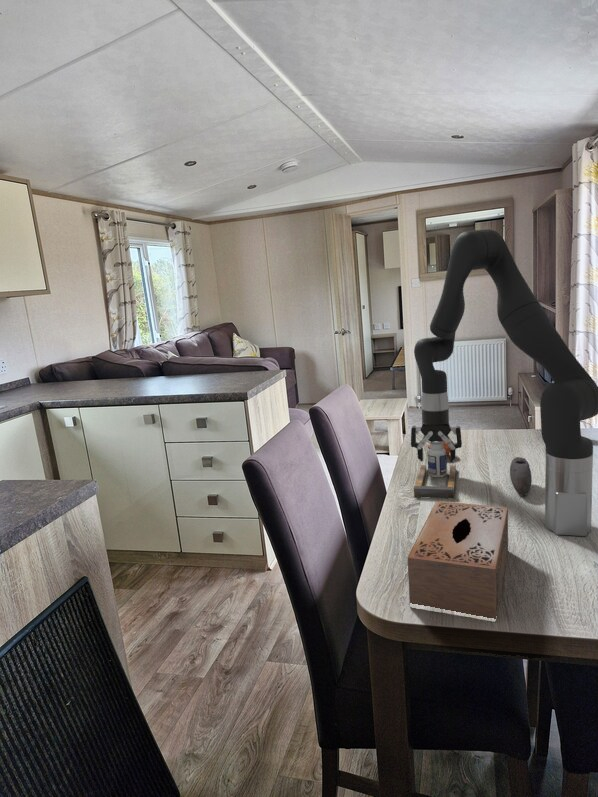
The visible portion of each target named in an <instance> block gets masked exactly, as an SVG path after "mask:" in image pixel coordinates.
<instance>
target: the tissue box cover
mask: <svg viewBox="0 0 598 797" xmlns="http://www.w3.org/2000/svg"><path fill="white" fill-rule="evenodd" d="M508 555H509V507H507V506H500V505H499V506H497V505H488V504H487V505H485V504H473V503H463V502H453V501H452V502H451V501H440V500H436V501H435V503H434V505H433V507H432V508H431V510H430V512H429V514H428V516H427V519H426V521H425V522H424V525H423V526H422V529H421V530H420V533H419V534H418V536H417V538H416V539H415V542H414V544H413V546H412V548H411V550H410V552H409V554H408V556H407V577H408V592H409V594H408V595H409V596H408V597H409V598H408V599H409V604H410V603H412V604H418V605H424V606H430V607H435V608H440V609H445V610H451V611H456V612H461V613H466V614H471V615H476V616H483V617H487V618H494V619H496V616H497V617H498V614H497V611H498V612H499V609H498V606H500V603H499V600H500V601H501V597H500V595H502V591H501V589H503V585H502V584H504V579H503V578H505V573H504V572H506V567H507V560H508ZM505 566H506V567H505Z"/></svg>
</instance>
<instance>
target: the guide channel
mask: <svg viewBox="0 0 598 797" xmlns="http://www.w3.org/2000/svg"><path fill="white" fill-rule="evenodd" d="M456 466H457V465H454V464H453V465H449V472H448V473H449V474H448V481H447V486H444V485H443V486H437V485H436V486H435V485H424V482H425V478H426V473H427V464H420V468H419V471H418V475H417V476H418V477H417V480H416V481H415V485H414V486H413V497H414V498H420V497H430V498H429V499H448V498H453V499H454V493H455V482H456V481H455V480H456V472H457V470H456Z"/></svg>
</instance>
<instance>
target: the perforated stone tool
mask: <svg viewBox="0 0 598 797" xmlns="http://www.w3.org/2000/svg"><path fill="white" fill-rule="evenodd" d="M509 477H510V481H511V483H512V487H513V488H514V490H515V492H516V493H517V494H518V495H519V496H522V497H524V496H526V495H527V494H528V493H530V491H531V488H532V481H533V478H532V471H531V468H530V464H529V462H528V460H527V459H526V458H524V457H521V456H516V457H514V458H513V459H512V460H511V463H510V466H509Z"/></svg>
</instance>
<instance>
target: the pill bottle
mask: <svg viewBox="0 0 598 797" xmlns="http://www.w3.org/2000/svg"><path fill="white" fill-rule="evenodd" d="M428 444H429V447H430V449H428V450H427V452H426V453H427V474H428V476H430V477H432V478H443V477H445V476H447V474H448V466H447V465H448V464H447V462H448V461H447V458H448V457H447V454H446V450H445V449H443V448H444V443H443V442H442V441H441V442H437V441H435V442H430V441H429V443H428Z"/></svg>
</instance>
